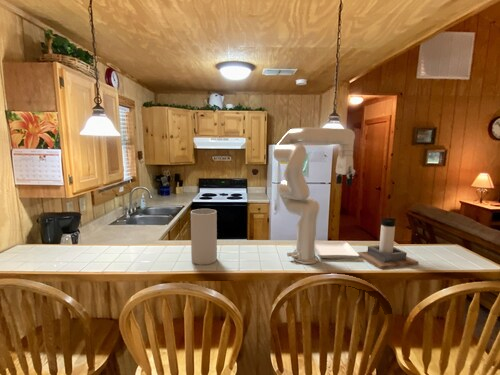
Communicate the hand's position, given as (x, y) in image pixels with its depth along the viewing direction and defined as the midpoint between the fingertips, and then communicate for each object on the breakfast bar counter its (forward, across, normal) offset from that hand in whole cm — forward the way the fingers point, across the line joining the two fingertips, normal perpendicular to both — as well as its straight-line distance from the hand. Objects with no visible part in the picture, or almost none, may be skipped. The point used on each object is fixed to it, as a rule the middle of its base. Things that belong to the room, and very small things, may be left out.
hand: (343, 184), depth 153 cm
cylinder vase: (+36, +1, -78) cm, 86 cm away
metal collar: (+35, +22, +12) cm, 43 cm away
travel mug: (+35, +22, +12) cm, 43 cm away
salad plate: (+37, +7, -9) cm, 39 cm away
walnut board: (+36, +22, +12) cm, 44 cm away
